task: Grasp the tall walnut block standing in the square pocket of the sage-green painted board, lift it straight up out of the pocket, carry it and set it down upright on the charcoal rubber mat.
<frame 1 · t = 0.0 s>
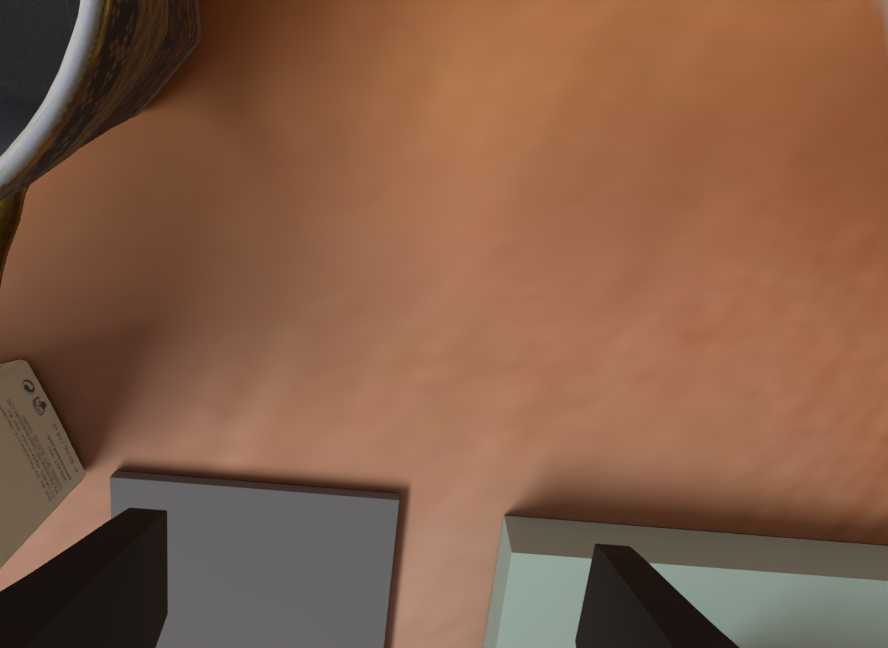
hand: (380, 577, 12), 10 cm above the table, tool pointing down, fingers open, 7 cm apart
ceramic cup: (87, 47, 19), on the table
rubber mat: (254, 599, 24), on the table
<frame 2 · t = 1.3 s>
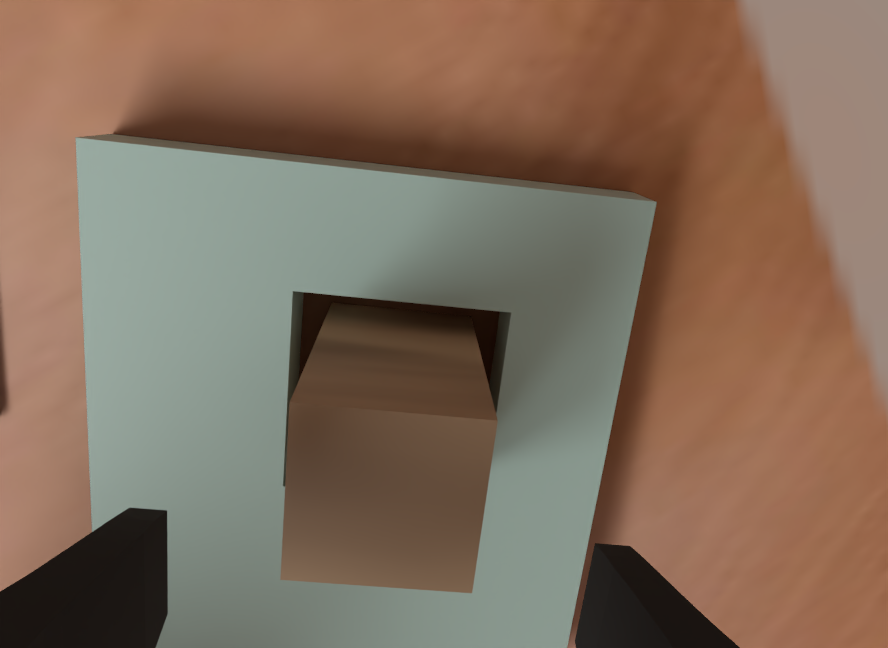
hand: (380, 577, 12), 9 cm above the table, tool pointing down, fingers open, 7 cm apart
pocket board: (356, 433, 21), on the table
walnut block: (395, 374, 21), resting in pocket board
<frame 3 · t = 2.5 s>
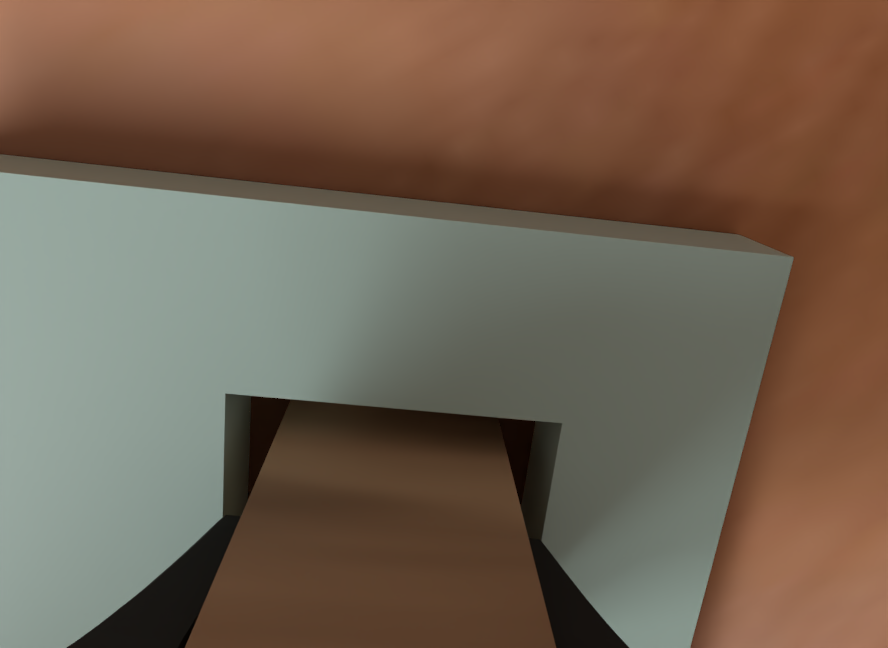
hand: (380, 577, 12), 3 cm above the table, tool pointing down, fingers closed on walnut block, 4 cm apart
pocket board: (331, 571, 15), on the table
walnut block: (387, 491, 14), resting in pocket board, touching gripper
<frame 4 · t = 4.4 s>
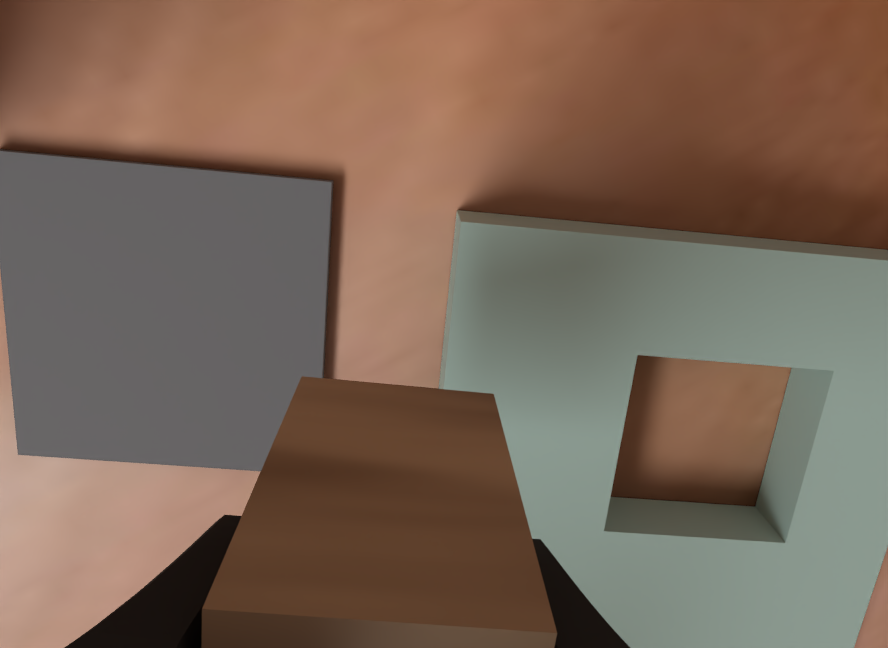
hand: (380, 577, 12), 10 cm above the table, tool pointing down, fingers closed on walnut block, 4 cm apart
pocket board: (647, 477, 23), on the table
walnut block: (389, 470, 15), point 6 cm above the table, touching gripper
rubber mat: (171, 321, 21), on the table
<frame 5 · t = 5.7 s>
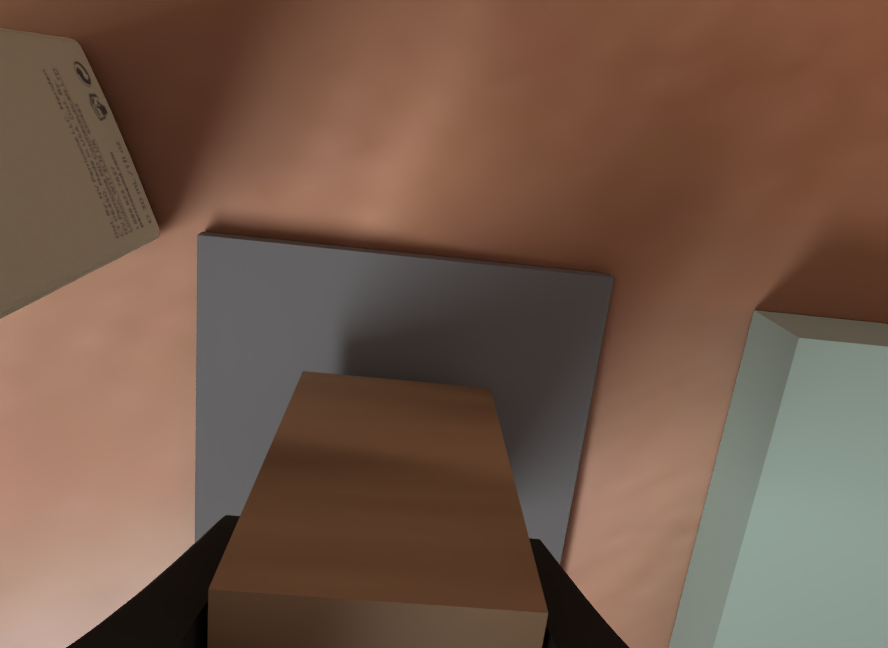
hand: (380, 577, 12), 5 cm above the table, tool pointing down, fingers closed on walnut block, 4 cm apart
walnut block: (389, 463, 16), point 1 cm above the table, touching gripper
rubber mat: (391, 436, 17), on the table
when the fingers open (4 cm above the table, at t = 6.4 s): walnut block stays where it is, resting on rubber mat.
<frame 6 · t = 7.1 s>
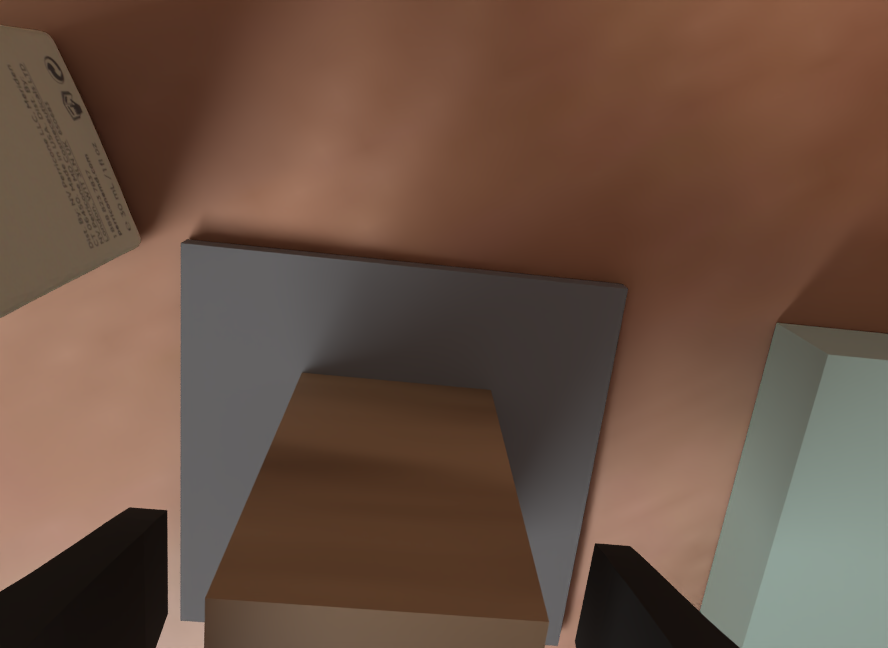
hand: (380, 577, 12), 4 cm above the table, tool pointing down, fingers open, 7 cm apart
walnut block: (388, 465, 15), resting on rubber mat
rubber mat: (390, 457, 16), on the table
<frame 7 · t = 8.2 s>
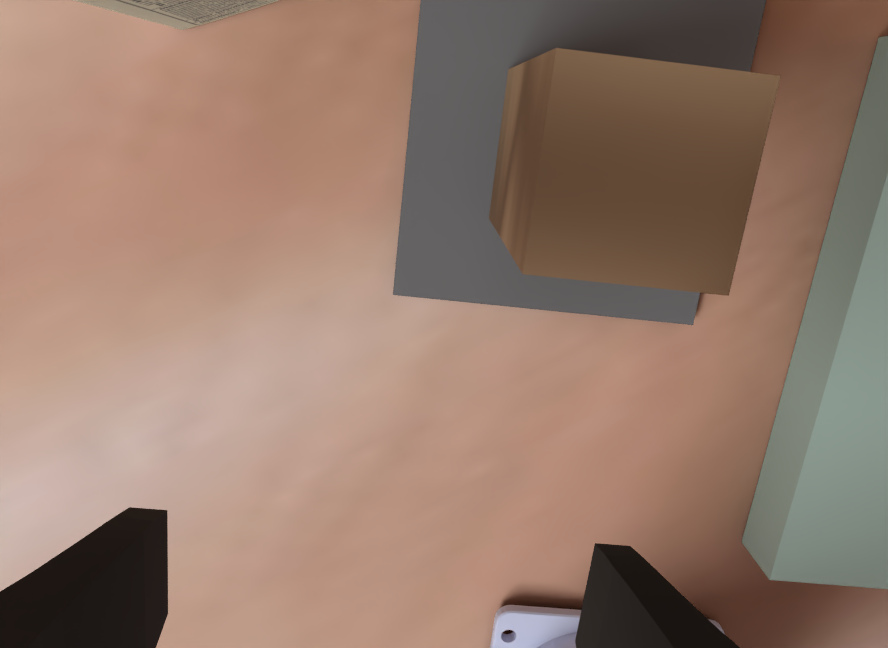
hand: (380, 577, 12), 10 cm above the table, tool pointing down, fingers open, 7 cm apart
walnut block: (569, 154, 19), resting on rubber mat
rubber mat: (567, 153, 20), on the table
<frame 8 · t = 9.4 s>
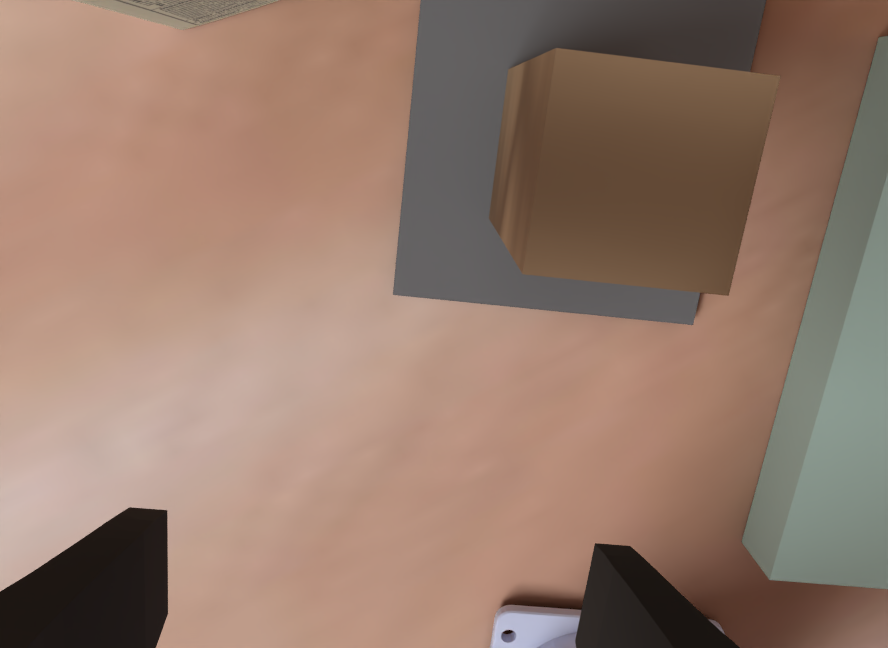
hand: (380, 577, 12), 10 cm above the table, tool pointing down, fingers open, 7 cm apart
walnut block: (569, 154, 19), resting on rubber mat
rubber mat: (567, 153, 20), on the table
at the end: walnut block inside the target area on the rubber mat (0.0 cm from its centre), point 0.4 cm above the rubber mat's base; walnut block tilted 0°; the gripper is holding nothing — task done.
